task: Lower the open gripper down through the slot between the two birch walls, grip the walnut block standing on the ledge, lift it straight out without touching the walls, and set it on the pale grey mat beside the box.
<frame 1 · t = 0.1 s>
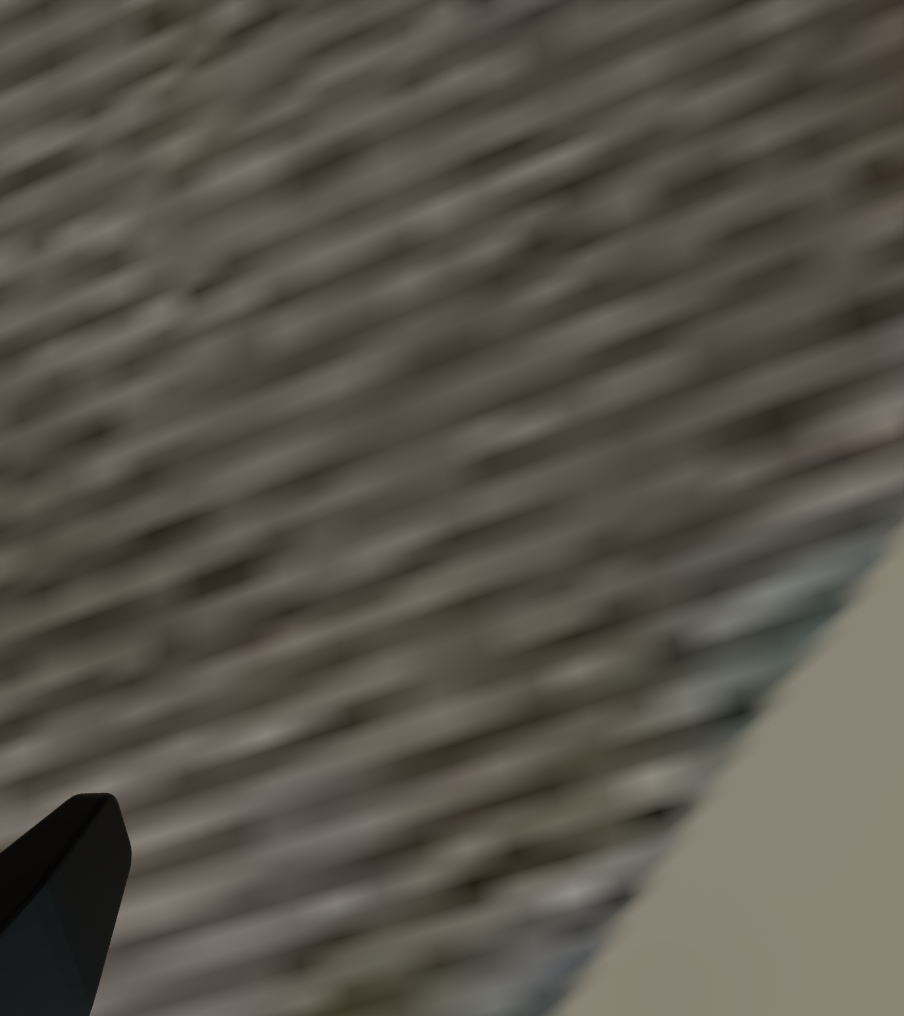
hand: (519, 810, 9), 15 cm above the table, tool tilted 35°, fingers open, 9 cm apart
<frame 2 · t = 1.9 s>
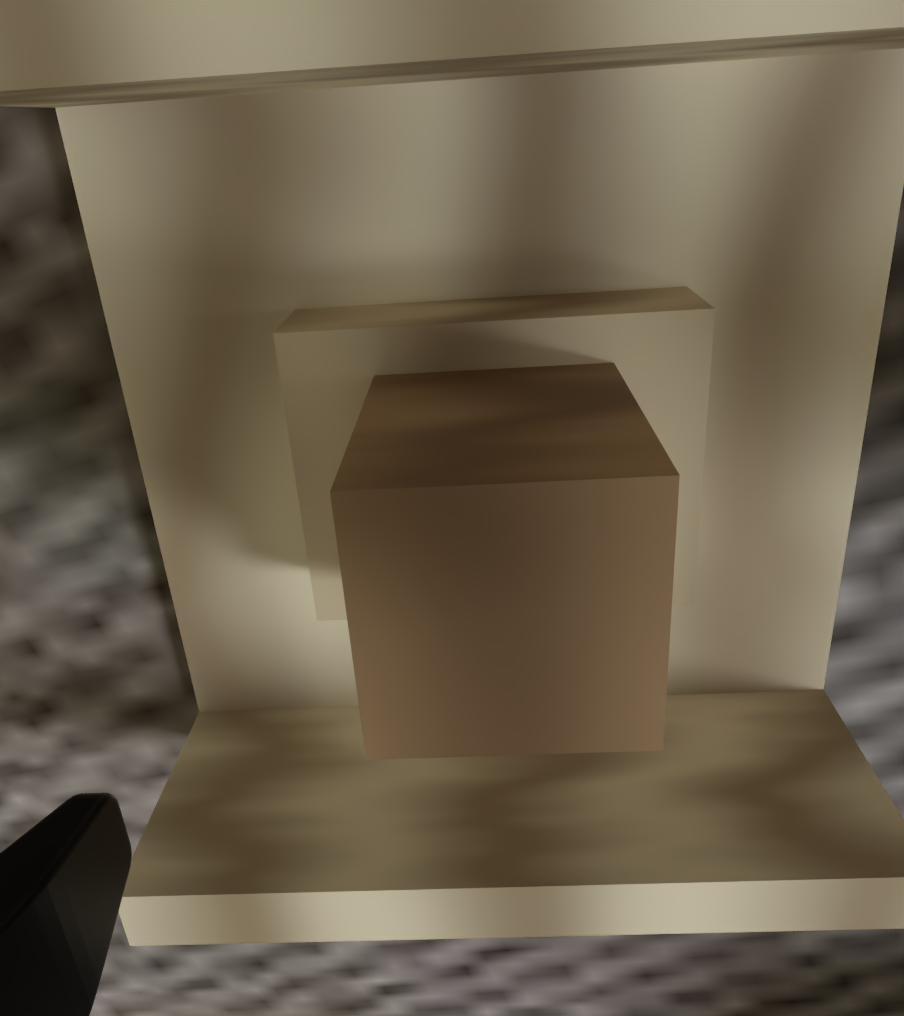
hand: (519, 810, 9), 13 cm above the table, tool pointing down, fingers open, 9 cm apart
slot box: (494, 432, 21), on the table
walnut block: (497, 479, 18), point 3 cm above the table, touching slot box
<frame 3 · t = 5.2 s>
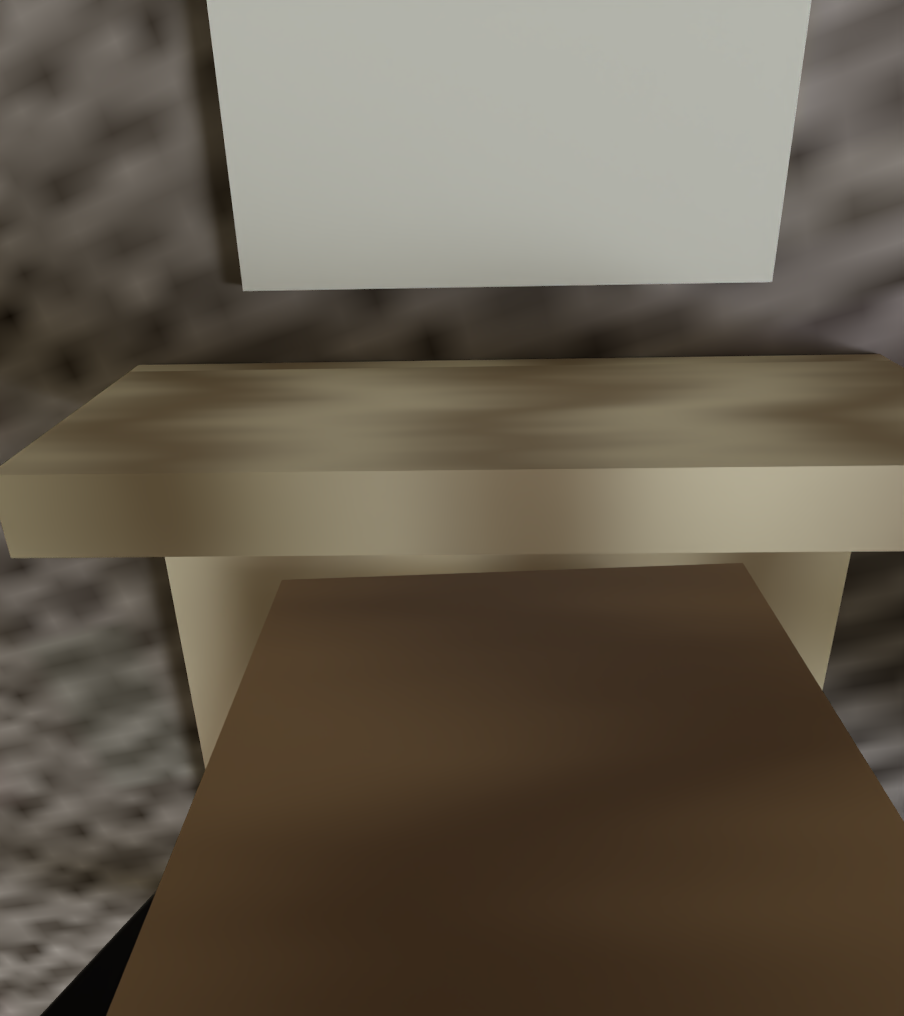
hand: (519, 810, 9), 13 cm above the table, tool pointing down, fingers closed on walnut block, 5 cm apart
slot box: (502, 681, 24), on the table
walnut block: (514, 750, 10), point 12 cm above the table, touching gripper
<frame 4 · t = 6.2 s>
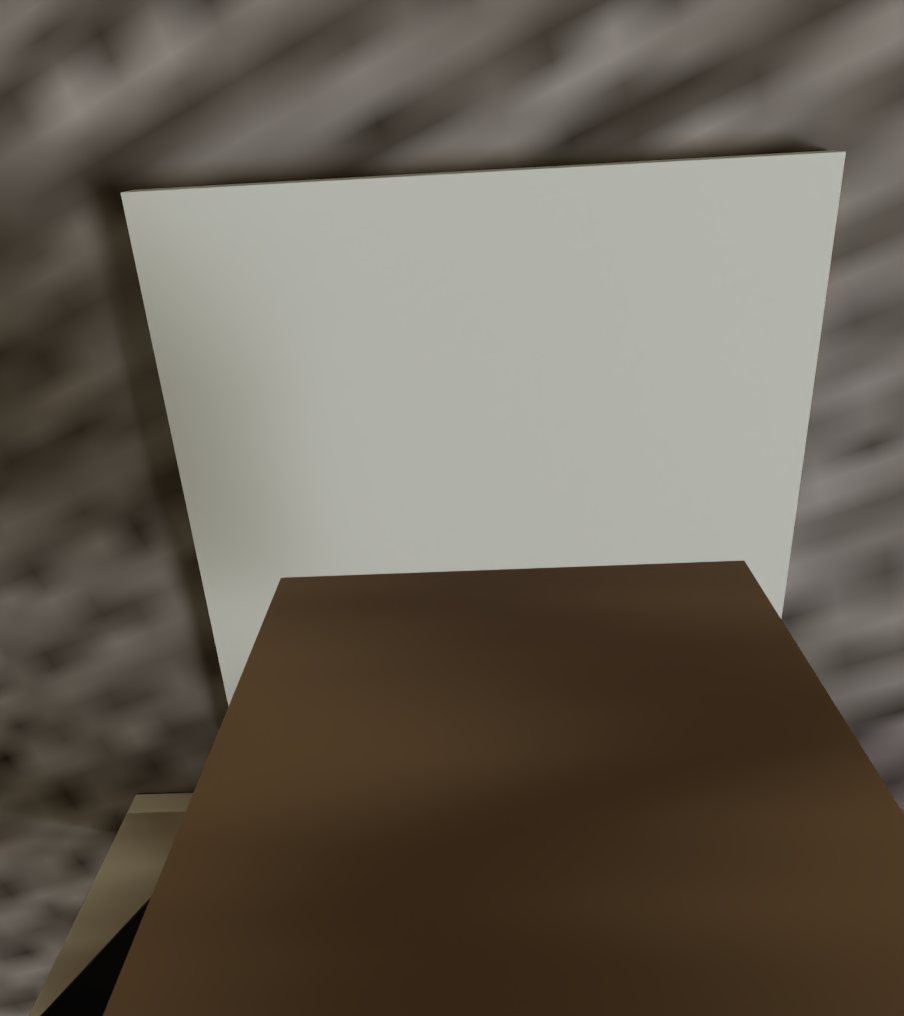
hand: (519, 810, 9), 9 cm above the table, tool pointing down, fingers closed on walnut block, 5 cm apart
walnut block: (514, 749, 10), point 8 cm above the table, touching gripper
grey mat: (488, 488, 17), on the table
when the fingers open (3 cm above the table, at t = 7.1 s): walnut block drops 1 cm, resting on grey mat.
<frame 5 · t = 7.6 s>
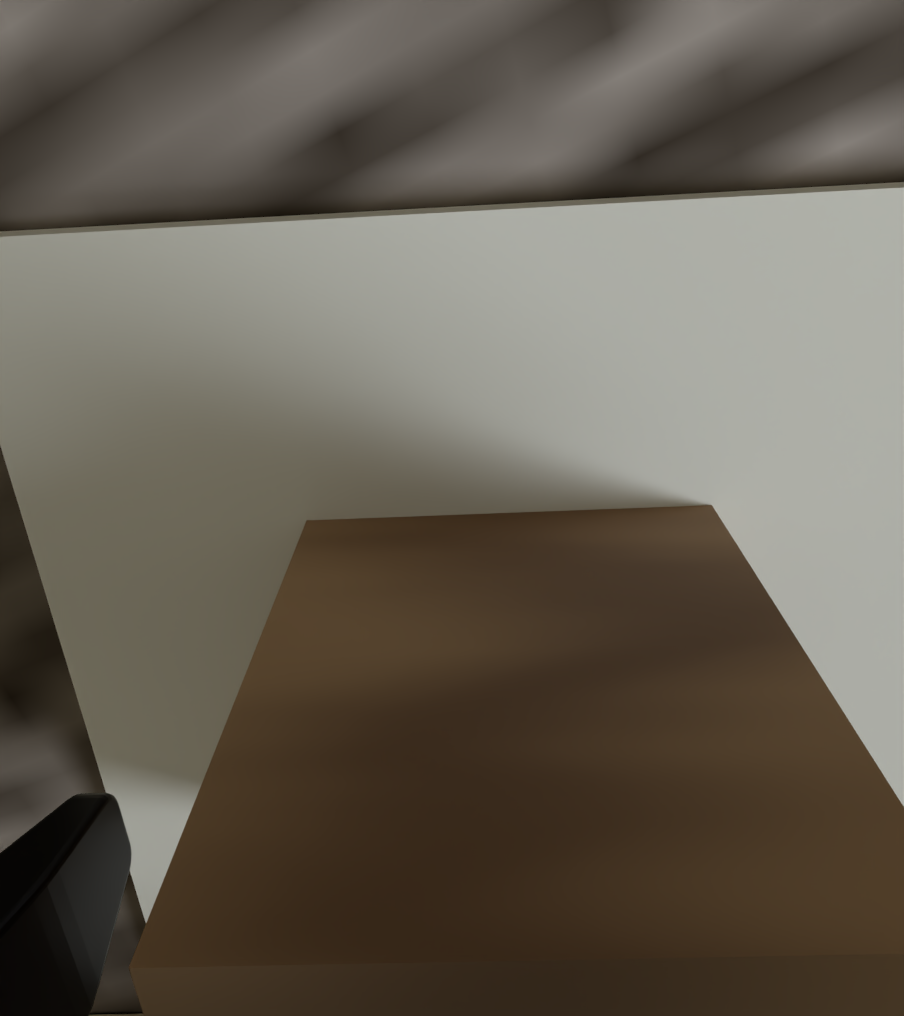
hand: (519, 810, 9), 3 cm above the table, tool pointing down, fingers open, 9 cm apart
walnut block: (511, 678, 11), point 1 cm above the table, touching grey mat
grey mat: (505, 650, 12), on the table
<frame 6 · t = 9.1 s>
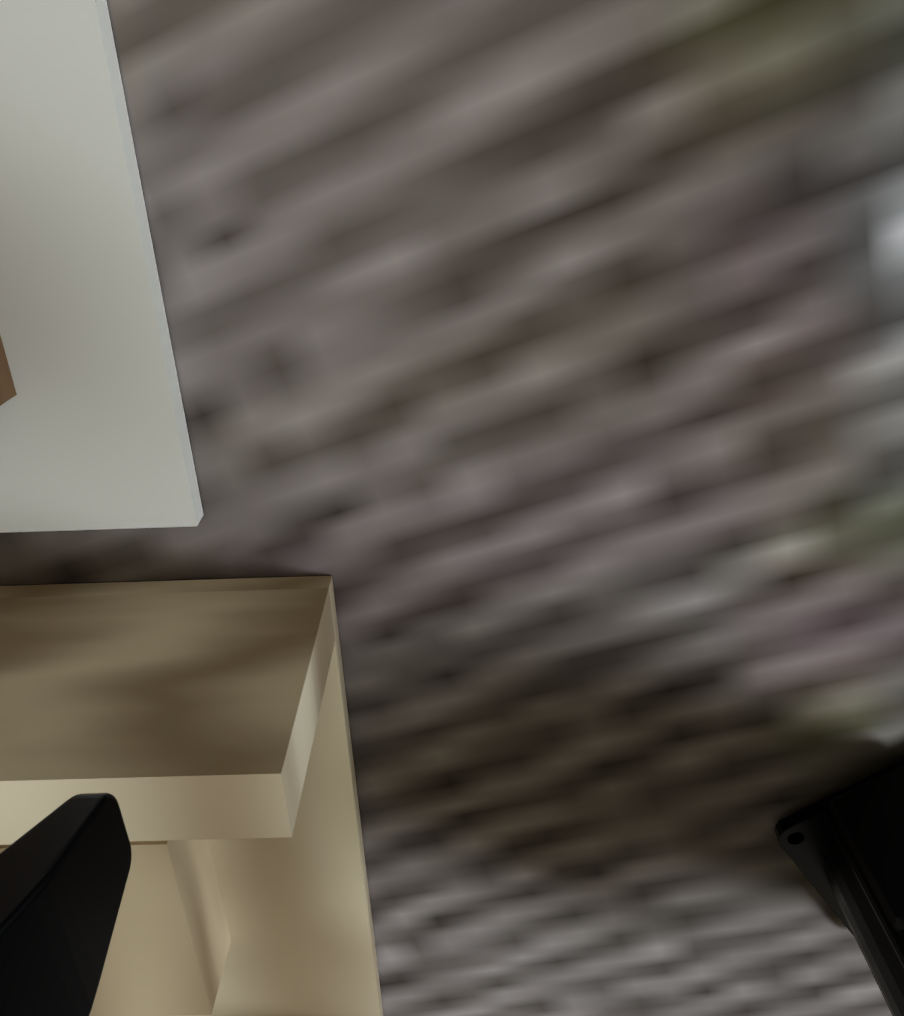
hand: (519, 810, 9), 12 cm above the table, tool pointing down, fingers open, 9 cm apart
slot box: (74, 851, 26), on the table
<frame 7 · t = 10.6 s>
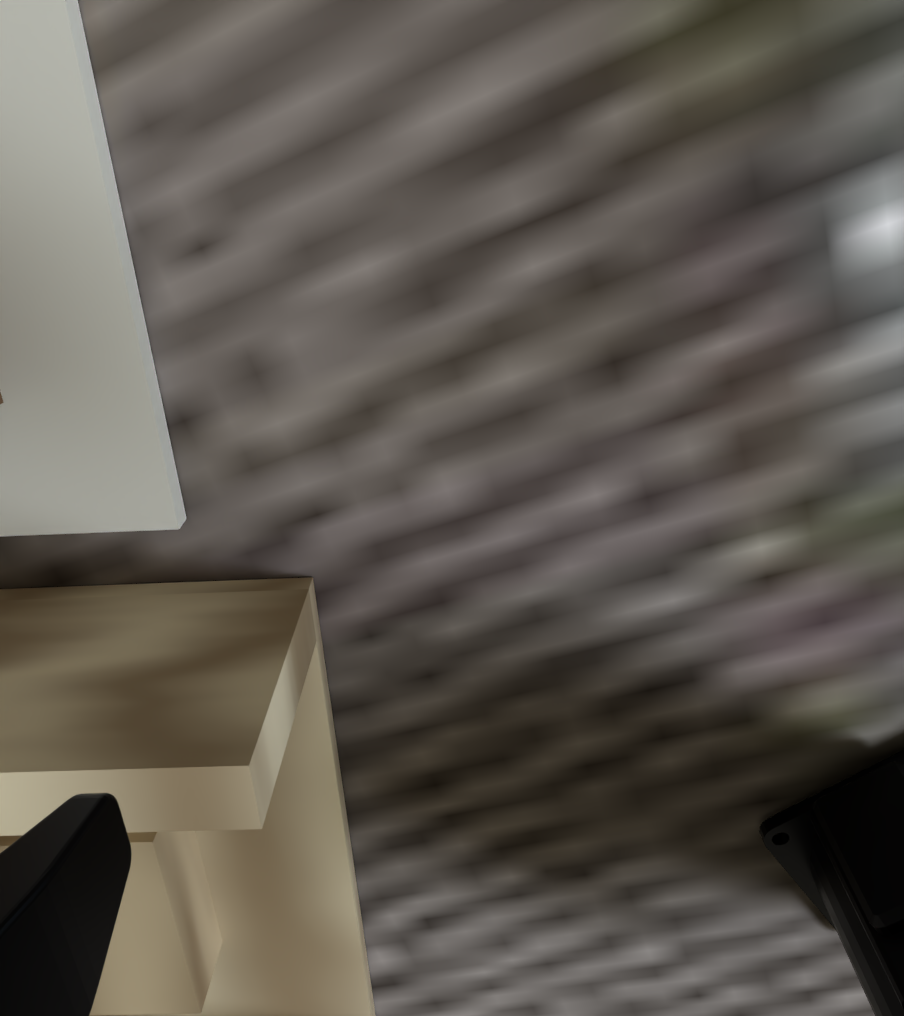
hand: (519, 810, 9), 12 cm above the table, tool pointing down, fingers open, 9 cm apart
slot box: (68, 851, 26), on the table
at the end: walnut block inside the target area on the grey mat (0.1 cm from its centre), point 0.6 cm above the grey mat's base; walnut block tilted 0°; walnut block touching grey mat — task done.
